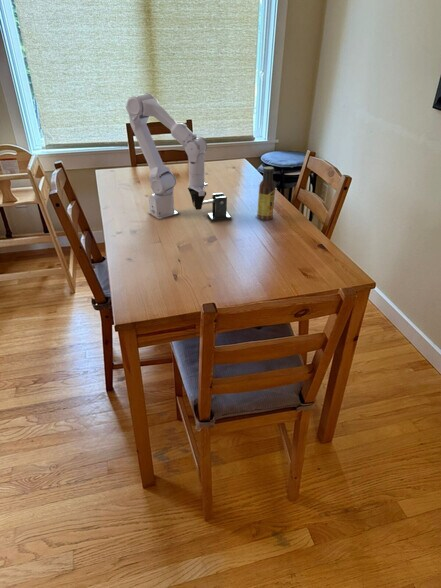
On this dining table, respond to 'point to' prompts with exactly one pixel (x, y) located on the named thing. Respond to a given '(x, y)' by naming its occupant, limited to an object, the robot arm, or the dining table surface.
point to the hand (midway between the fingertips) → (197, 207)
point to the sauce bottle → (266, 195)
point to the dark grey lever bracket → (219, 208)
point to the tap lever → (209, 201)
